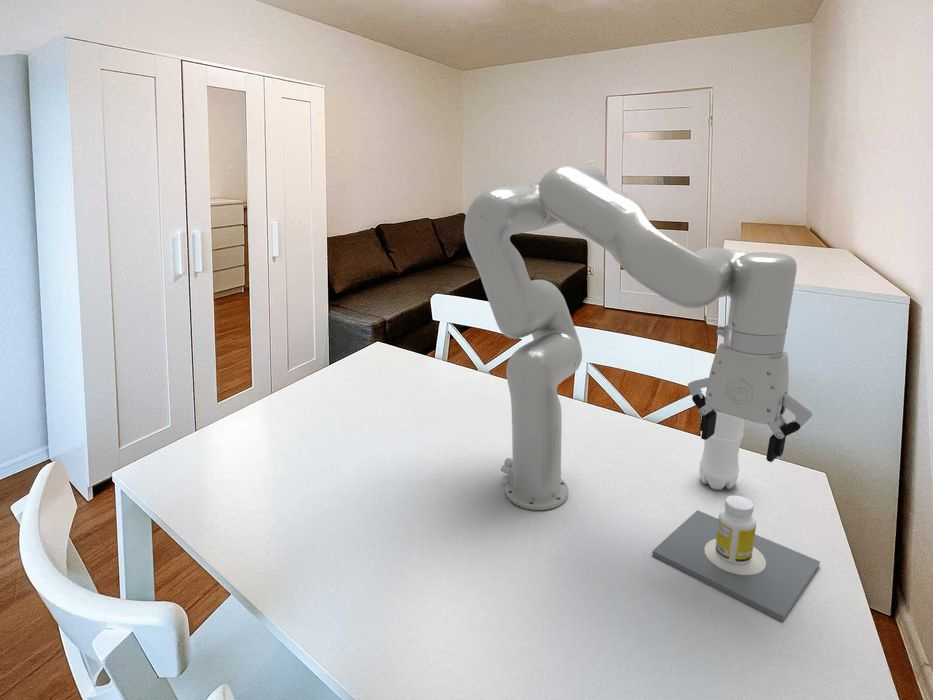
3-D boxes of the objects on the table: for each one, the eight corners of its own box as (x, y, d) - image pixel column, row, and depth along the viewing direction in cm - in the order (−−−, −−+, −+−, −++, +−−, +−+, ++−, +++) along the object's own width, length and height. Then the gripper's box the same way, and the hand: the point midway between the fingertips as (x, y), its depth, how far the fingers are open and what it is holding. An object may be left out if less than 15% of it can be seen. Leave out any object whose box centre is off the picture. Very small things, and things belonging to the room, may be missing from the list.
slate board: (652, 555, 91) (652, 550, 91) (696, 514, 101) (697, 509, 101) (782, 621, 77) (783, 615, 77) (819, 566, 87) (820, 560, 87)
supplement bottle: (753, 550, 90) (761, 498, 87) (749, 570, 85) (757, 516, 82) (717, 539, 93) (723, 489, 90) (712, 558, 88) (718, 506, 85)
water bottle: (741, 494, 107) (756, 375, 99) (702, 491, 108) (714, 373, 101) (731, 475, 114) (745, 362, 106) (695, 473, 115) (706, 361, 107)
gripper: (684, 334, 82) (673, 436, 87) (813, 360, 70) (791, 477, 75) (706, 324, 87) (695, 422, 92) (831, 347, 75) (810, 458, 80)
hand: (738, 447), depth 84 cm, fingers open, 9 cm apart
